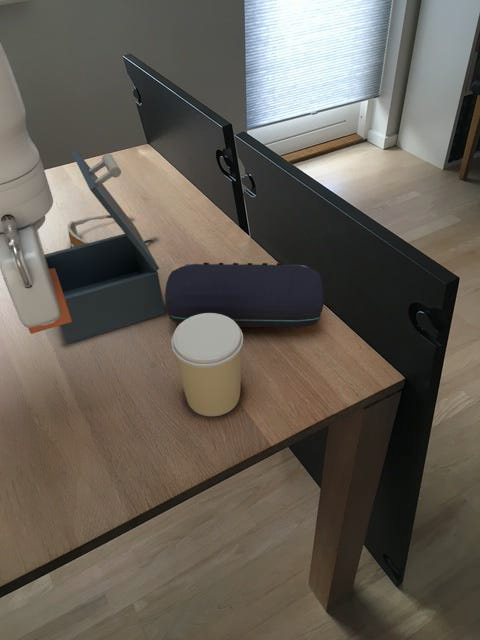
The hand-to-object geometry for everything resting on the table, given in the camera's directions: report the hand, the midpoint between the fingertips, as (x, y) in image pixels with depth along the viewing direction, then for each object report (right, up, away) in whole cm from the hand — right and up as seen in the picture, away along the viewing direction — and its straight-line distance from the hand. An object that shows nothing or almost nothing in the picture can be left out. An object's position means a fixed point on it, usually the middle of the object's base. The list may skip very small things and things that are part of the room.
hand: (43, 304), depth 61 cm
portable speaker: (+23, -2, +29) cm, 37 cm away
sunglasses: (-4, +14, +48) cm, 50 cm away
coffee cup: (+18, -13, +17) cm, 28 cm away
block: (0, -1, +1) cm, 2 cm away
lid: (+3, +15, +23) cm, 27 cm away
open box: (-1, +1, +33) cm, 33 cm away
